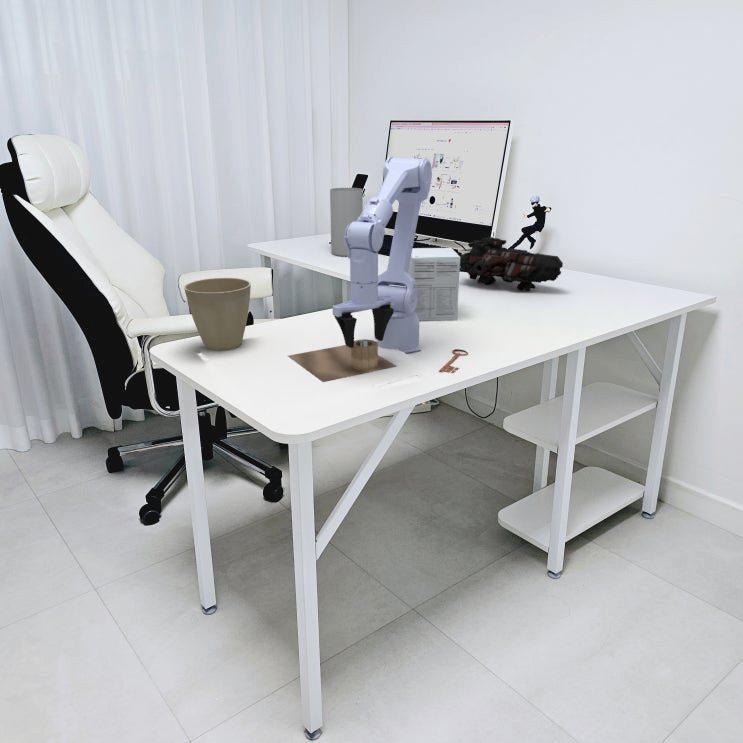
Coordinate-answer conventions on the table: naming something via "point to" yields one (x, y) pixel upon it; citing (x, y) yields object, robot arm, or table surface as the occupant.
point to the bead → (364, 355)
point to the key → (450, 368)
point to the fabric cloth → (334, 363)
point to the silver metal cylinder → (364, 342)
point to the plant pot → (219, 310)
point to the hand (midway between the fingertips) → (364, 342)
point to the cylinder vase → (343, 215)
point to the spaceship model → (508, 264)
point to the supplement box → (435, 282)
